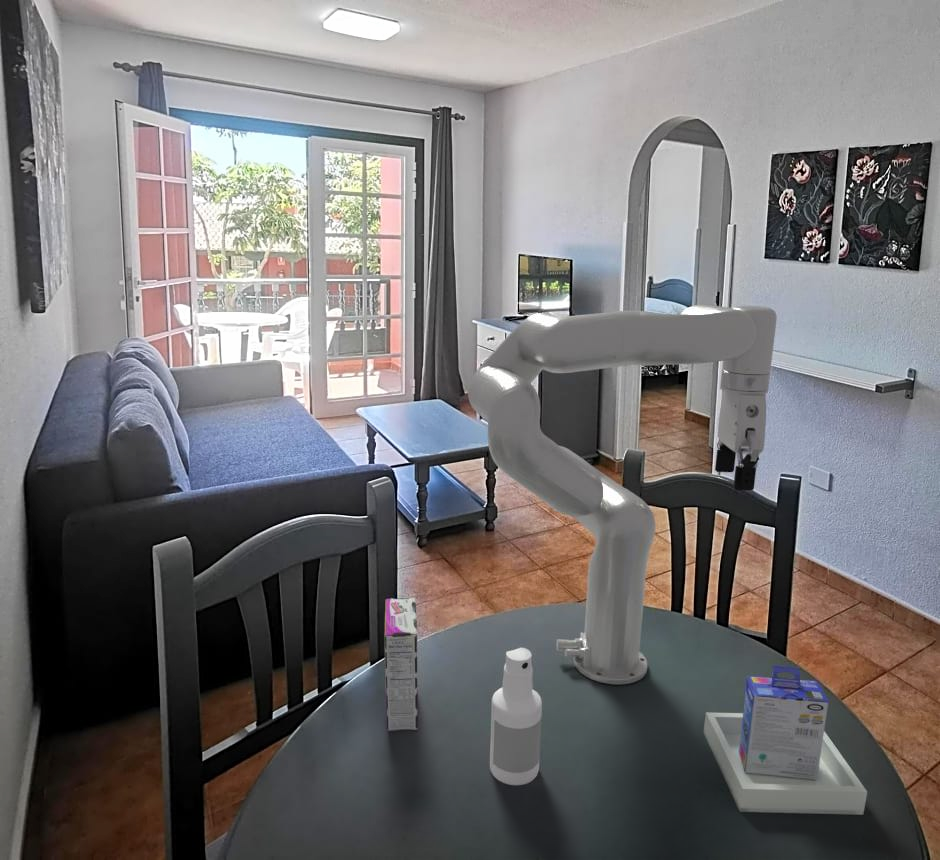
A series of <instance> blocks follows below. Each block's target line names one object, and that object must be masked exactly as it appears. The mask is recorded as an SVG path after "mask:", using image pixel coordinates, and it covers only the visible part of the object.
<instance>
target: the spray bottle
mask: <svg viewBox="0 0 940 860" xmlns="http://www.w3.org/2000/svg"><path fill="white" fill-rule="evenodd" d="M533 673H534V672H533V665H532V652H531V651H530V649H528V648H525V647H519V648H516V649H512V650H508V651H506V653H505V663H504V666H503V679H502V687H500V688H499V689H498V690H495V692H494V693H493V695H492V697H491V718H490V719H491V720H490V746H489V747H490V748H489V750H490V752H489V770H490V772H491V774H492V776H493V777H494V778H495V779H496V780H497V781H499V782H500V783H503V784H505V785H508V786H509V785H510V786H522V785H528V784H529V783H531V782H532V781H534V779H536V777H537V776H538V774H539V770H540V753H541V737H542V736H541V735H542V733H541V731H542V715H543V713H542V712H543V702H542V697H541V696H540V694H539V693H538V692H537V691H536V690H535V689H533V688H534V684H533Z"/></svg>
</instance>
